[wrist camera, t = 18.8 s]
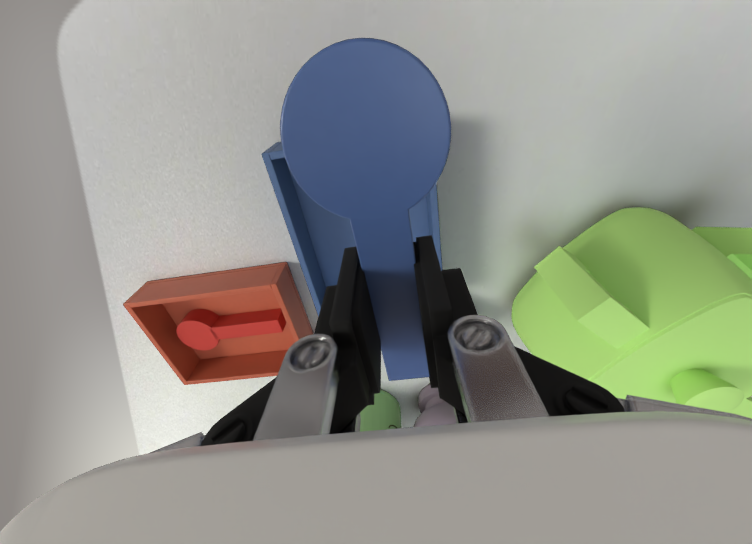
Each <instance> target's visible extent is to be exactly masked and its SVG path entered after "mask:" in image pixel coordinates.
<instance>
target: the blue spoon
mask: <svg viewBox="0 0 752 544" xmlns="http://www.w3.org/2000/svg"><path fill="white" fill-rule="evenodd" d="M280 135H281V143H282V148H283V152H284V156H285V159H286V162H287V164H288V167H289V169H290V171H291V173H292V175H293V177H294V179H295V180H296V181H297V183H298V184H299V186H300V187H301V188H302V190H303V191H304V192H305V193H306V194H307V195H308V196H309V197H310V198H311V199H312V200H313V201H314V202H316V203H317V204H318V205H320V206H321V207H323V208H324V209H326V210H328V211H329V212H331V213H333V214H336V215H338V216H341V217H344V218H348V219H350V223H351V227H352V231H353V235H354V239H355V243H356V248H357V252H358V256H359V260H360V264H361V268H362V271H364V273H365V277H366V282H367V286H368V290H369V294H370V298H371V303H372V307H373V311H374V315H375V320H376V324H377V328H378V332H379V336H380V341H381V351H382V355H383V359H384V363H385V367H386V371H387V375H388V379H389V381H393V380H403V379H413V378H423V377H429V371H428V364H427V358H426V351H425V344H424V337H423V329H422V322H421V315H420V307H419V300H418V293H417V285H416V278H415V271H414V264H416V259H415V252H414V244H413V237H412V229H411V221H410V214H409V209H410V208H412V207H413V206H415V205H416V204H417V203H419V202H420V201H421V200H422V199H423V198H424V197H425V196H426V195H427V194H428V193H429V192H430V191H431V189H432V188H433V187H434V185H435V184H436V182H437V181H438V179H439V177H440V175H441V173H442V172H443V169H444V166H445V164H446V161H447V158H448V154H449V150H450V142H451V121H450V113H449V109H448V105H447V101H446V99H445V96H444V93H443V91H442V89H441V87H440V85H439V83H438V82H437V80H436V78H435V77H434V75H433V74H432V73H431V71H430V70H429V69H428V68H427V67H426V66H425V65H424V64H423V62H422V61H421V60H420V59H418V58H417V57H416V56H414V55H413V54H412V53H410V52H409V51H407V50H406V49H404V48H402V47H400V46H398V45H396V44H393V43H390V42H387V41H385V40H379V39H374V38H355V39H348V40H344V41H341V42H338V43H334V44H332V45H330V46H328V47H326V48H324V49H322V50H321V51H320V52H318V53H317V54H315V55H314V56H313V57H311V58H310V59H309V60H308V61H307V62H306V63H305V64H304V65H303V66H302V68H301V69H300V70H299V72H298V73H297V74H296V76H295V77H294V79H293V81H292V83H291V84H290V86H289V88H288V91H287V94H286V96H285V99H284V103H283V107H282V112H281V121H280Z"/></svg>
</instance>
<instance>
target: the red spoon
mask: <svg viewBox="0 0 752 544" xmlns="http://www.w3.org/2000/svg"><path fill="white" fill-rule="evenodd" d="M285 325H286V320H285V317H284V315H283V313H282V310H281V308H279V309H271V310H263V311H255V312H247V313H239V314H230V315H222V316H219V315H218V314H216V313H214V312H212V311H210V310H206V309H194V310H192V311H190V312H188V313H187V315H186V316H185V317H184V319H183V320H182V321H181V322H180V324H179V325H178V327H177V330H176V331H177V335H178V337H179V339H180V340H181V341H182V342H183V343H184V344H186V345H187V346H189V347H191V348H194V349H198V350H210V349H213V348H214V347H216V346H217V344H218V343H219V341H220V339H229V338H237V337H246V336H254V335H263V334H272V333H280V332H283V330H284V328H285Z"/></svg>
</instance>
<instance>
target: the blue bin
mask: <svg viewBox="0 0 752 544" xmlns="http://www.w3.org/2000/svg"><path fill="white" fill-rule="evenodd" d="M262 157H263V160H264V163H265V165H266V168H267V171H268V174H269V177H270V180H271V183H272V185H273V188H274V191H275V194H276V197H277V200H278V202H279V205H280V208H281V211H282V214H283V217H284V220H285V222H286V225H287V228H288V231H289V234H290V237H291V240H292V242H293V245H294V248H295V251H296V254H297V257H298V260H299V262H300V265H301V268H302V271H303V274H304V277H305V280H306V282H307V285H308V288H309V291H310V294H311V297H312V299H313V302H314V305H315V308H316V311H317V314H318V316H319V313H320V309H321V305H322V301H323V298H324V294H325V290H326V287H327V286H333V285H337V282H338V277H339V273H340V268H341V263H342V258H343V254H344V249H345V248H349V247H356V243H355V239H354V235H353V231H352V227H351V223H350V219H348V218H344V217H341V216H338V215H336V214H333V213H331V212H329V211H328V210H326V209H324V208H323V207H321V206H320V205H318V204H317V203H316V202H314V201H313V200H312V199H311V198H310V197H309V196H308V195H307V194H306V193H305V192H304V191H303V190H302V188H301V187H300V186H299V184H298V183H297V181H296V180H295V179H294V177H293V175H292V173H291V171H290V169H289V167H288V164H287V162H286V159H285V156H284V152H283V148H282V143H281V142H277V143H275V144H274V145H273V146H271V147H270V148H269V149H267V150H266V151H265V152H263V153H262ZM409 214H410V221H411V229H412V237H413V242H416V237H422V236H429V235H432V238H433V242H434V246H435V249H436V253H437V256H438V260H439V264H440V267H441V271H442V258H441V244H440V229H439V214H438V199H437V185H436V184H435V185H434V187H433V188H432V189H431V191H430V192H429V193H428V194H427V195H426V196H425V197H424V198H423V199H422V200H421V201H420V202H419V203H417V204H416V205H415V206H413V207H412V208H410V209H409Z"/></svg>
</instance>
